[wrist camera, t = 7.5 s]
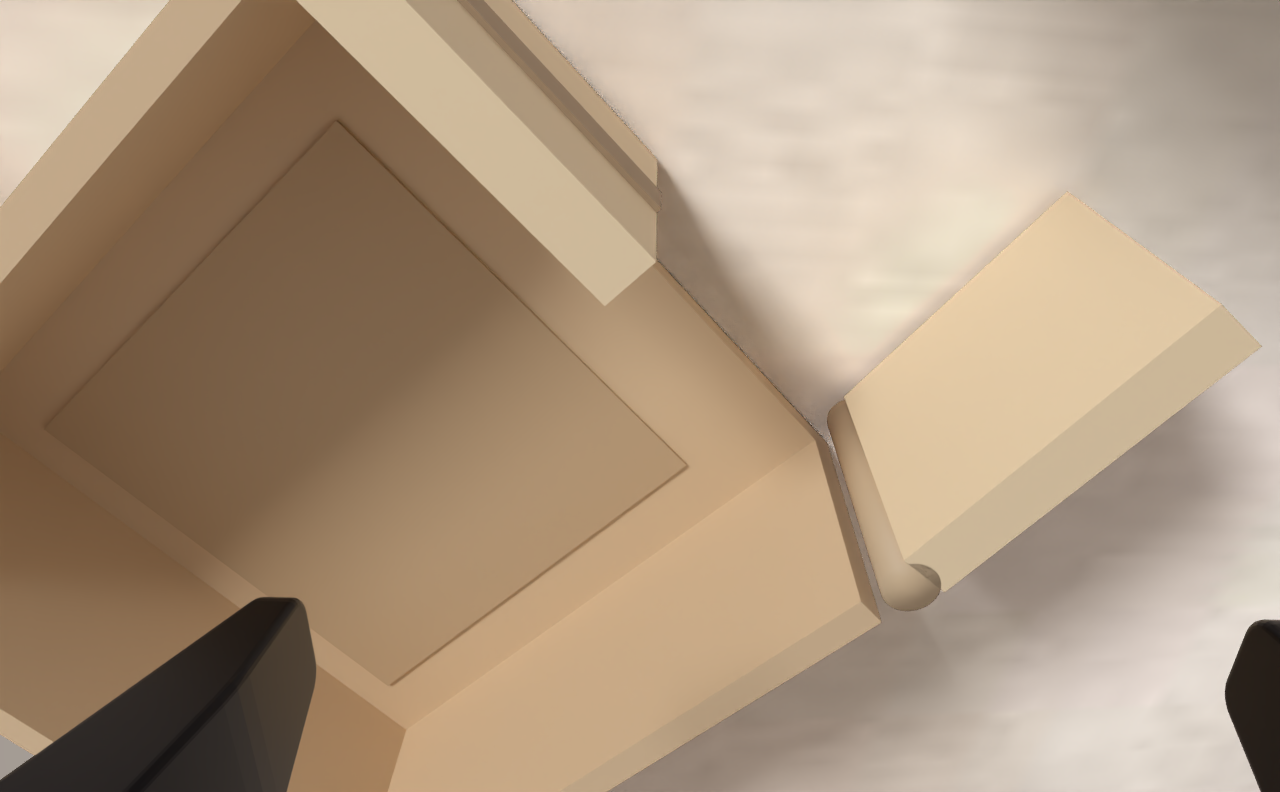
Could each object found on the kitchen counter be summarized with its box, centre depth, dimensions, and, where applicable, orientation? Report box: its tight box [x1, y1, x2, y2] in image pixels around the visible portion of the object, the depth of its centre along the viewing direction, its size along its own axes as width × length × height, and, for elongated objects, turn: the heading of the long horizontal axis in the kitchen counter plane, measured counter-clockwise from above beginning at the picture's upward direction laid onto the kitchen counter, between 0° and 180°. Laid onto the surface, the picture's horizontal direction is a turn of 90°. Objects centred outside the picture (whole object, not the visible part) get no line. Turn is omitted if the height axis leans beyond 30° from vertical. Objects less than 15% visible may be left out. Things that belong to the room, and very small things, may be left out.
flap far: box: [827, 191, 1262, 611], centre depth 18 cm, size 1×7×6 cm, turn 139°
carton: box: [0, 0, 882, 792], centre depth 19 cm, size 14×14×6 cm
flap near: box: [296, 0, 661, 306], centre depth 15 cm, size 1×7×6 cm, turn 43°
